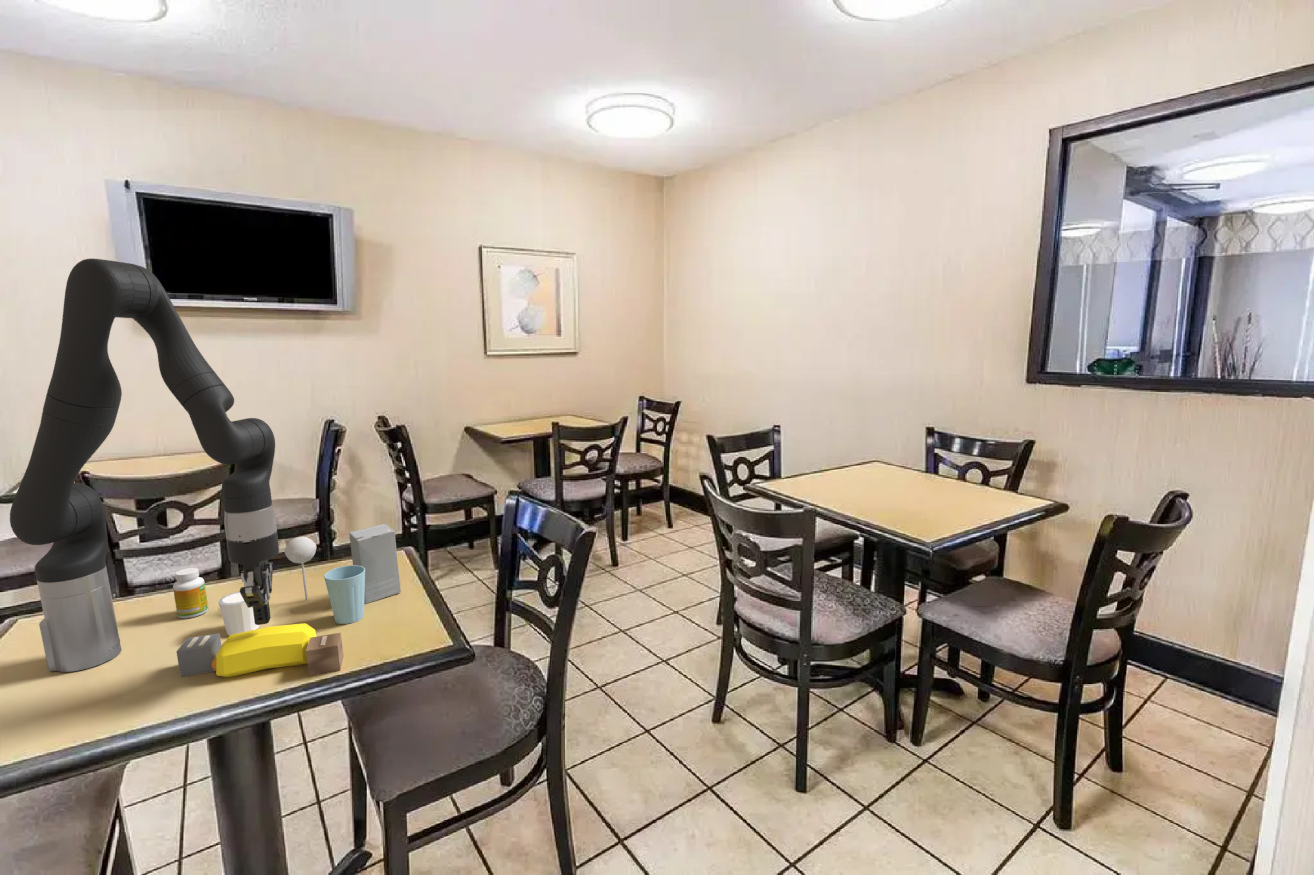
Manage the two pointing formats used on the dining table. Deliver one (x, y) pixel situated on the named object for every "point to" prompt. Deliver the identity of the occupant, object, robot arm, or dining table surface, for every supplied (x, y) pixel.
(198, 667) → the charcoal numbered block
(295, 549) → the lollipop
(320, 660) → the walnut numbered block
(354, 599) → the cup
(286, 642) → the yellow banana
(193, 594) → the supplement bottle
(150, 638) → the dining table surface
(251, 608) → the shot glass
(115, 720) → the dining table surface
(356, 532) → the skincare box
